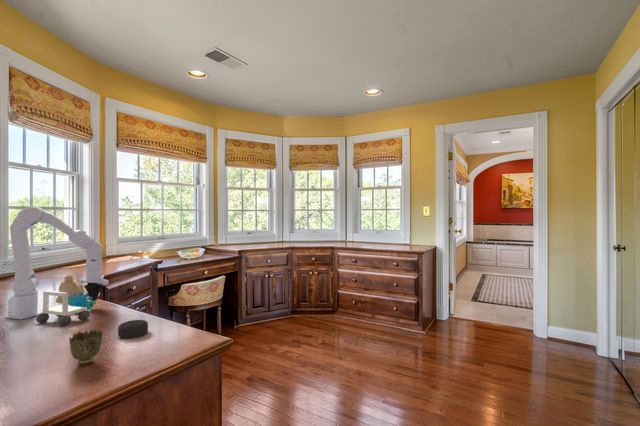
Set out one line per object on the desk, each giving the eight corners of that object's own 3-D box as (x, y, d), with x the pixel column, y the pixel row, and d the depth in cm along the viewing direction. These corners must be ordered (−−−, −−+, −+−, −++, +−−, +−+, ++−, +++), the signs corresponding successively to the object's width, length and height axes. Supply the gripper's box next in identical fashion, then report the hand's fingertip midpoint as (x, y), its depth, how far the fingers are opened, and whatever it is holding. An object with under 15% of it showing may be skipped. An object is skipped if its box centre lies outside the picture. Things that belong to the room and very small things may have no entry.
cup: (80, 357, 92) (80, 329, 92) (107, 357, 93) (108, 328, 93) (61, 370, 84) (62, 339, 85) (91, 369, 85) (92, 338, 85)
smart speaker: (113, 341, 105) (114, 328, 105) (122, 331, 113) (122, 320, 113) (144, 338, 107) (144, 326, 107) (150, 329, 116) (150, 318, 116)
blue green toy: (60, 312, 130) (67, 290, 136) (60, 319, 133) (67, 298, 140) (93, 312, 135) (98, 291, 142) (92, 319, 138) (98, 299, 145)
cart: (35, 323, 121) (36, 292, 121) (65, 315, 131) (65, 286, 131) (61, 327, 117) (61, 294, 117) (89, 318, 127) (90, 288, 127)
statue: (44, 281, 147) (59, 271, 157) (50, 308, 151) (64, 297, 160) (73, 281, 149) (86, 271, 158) (78, 308, 153) (90, 296, 162)
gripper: (114, 268, 144) (114, 299, 143) (90, 267, 148) (90, 297, 148) (100, 271, 137) (99, 303, 137) (74, 269, 141) (74, 300, 141)
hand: (93, 300), depth 142 cm, fingers closed
